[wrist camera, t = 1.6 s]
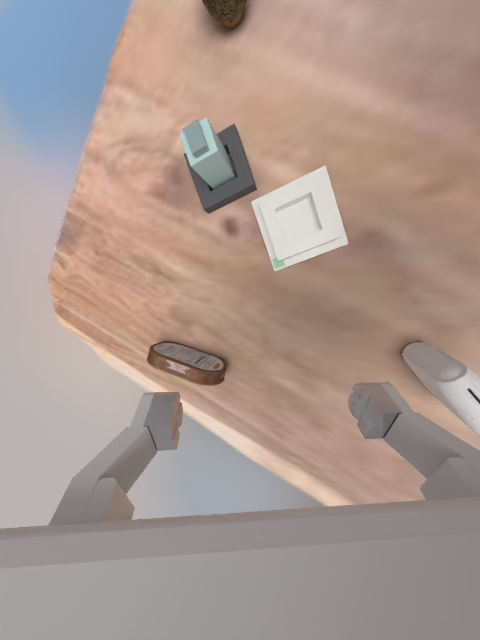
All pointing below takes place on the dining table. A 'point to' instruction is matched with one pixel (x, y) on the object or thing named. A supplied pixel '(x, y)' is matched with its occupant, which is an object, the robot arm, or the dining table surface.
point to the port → (300, 220)
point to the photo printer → (447, 381)
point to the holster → (236, 186)
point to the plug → (207, 153)
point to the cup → (226, 11)
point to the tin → (187, 363)
